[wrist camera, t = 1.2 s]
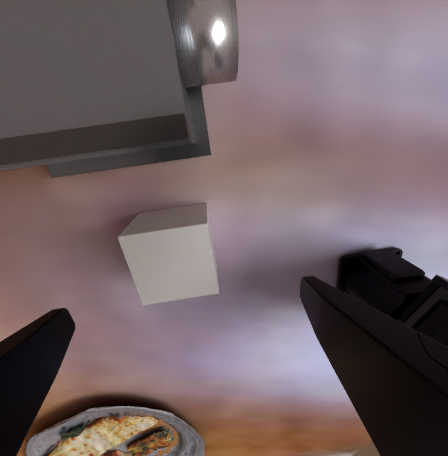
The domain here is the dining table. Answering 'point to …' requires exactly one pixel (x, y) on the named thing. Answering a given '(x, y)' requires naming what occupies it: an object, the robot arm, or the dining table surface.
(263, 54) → the dining table surface
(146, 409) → the food plate
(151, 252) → the plain white cube
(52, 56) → the motor housing
